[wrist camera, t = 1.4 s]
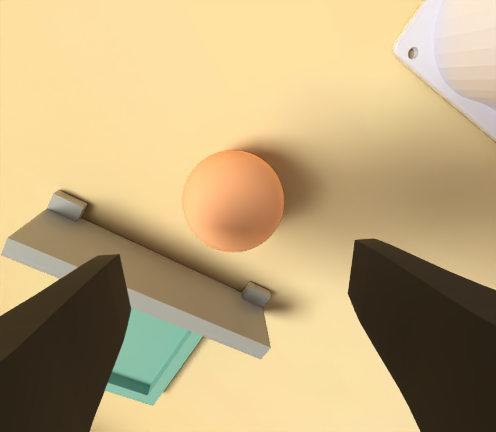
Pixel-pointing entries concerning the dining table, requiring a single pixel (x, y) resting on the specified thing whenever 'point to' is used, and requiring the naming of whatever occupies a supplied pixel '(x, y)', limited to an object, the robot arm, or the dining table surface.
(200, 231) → the ball
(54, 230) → the wall
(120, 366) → the coaster
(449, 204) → the dining table surface
